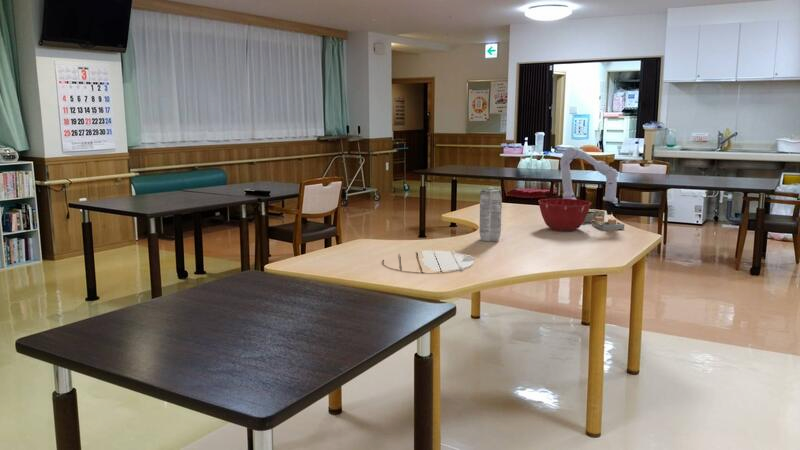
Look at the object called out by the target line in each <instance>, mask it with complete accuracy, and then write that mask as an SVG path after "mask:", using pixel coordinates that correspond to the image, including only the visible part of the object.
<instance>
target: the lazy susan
mask: <svg viewBox="0 0 800 450" xmlns="http://www.w3.org/2000/svg"><path fill="white" fill-rule="evenodd" d="M422 251H423V252H422V254H423V256H424V258H423V259H421V260H422V261H423V262H424V265H426V266H428V268H431V269H430V270H433V271H438V272H439V271H441V270H442V271H456V270H461V271H465V270H468V269H470V268H471V266H472V267H473V266H474V264H475V261H476V259H475V257H473V256H472V255H470V254H464V253H458V252H455V250H452V251H445V250H430V249H429V250H426V249H425V250H422ZM434 253H435V255H434ZM435 256H436V257H435ZM436 258H437V260H436ZM455 260H456V261H455ZM437 261H438V262H437ZM423 262H422V263H423ZM456 262H457V263H456ZM438 263H439V265H438ZM457 264H458V265H457ZM439 266H440V267H439ZM458 266H459V267H458ZM440 268H441V270H440ZM459 268H460V269H459ZM467 268H468V269H467ZM464 269H465V270H464ZM456 272H457V271H456Z"/></svg>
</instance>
